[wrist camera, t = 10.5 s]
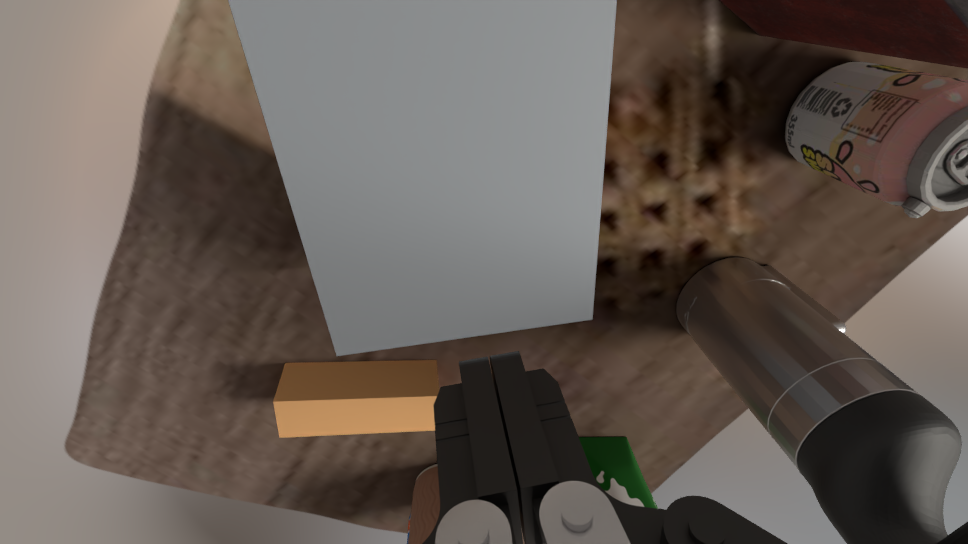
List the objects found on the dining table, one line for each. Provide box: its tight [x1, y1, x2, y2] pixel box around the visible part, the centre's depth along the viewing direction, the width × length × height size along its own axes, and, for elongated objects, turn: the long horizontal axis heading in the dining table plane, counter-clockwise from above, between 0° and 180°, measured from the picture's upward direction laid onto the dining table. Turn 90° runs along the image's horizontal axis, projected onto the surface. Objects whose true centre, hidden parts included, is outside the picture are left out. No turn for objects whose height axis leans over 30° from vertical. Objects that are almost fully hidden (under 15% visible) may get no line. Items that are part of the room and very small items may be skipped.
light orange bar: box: [273, 360, 439, 438], centre depth 44 cm, size 14×4×5 cm, turn 84°
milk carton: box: [579, 437, 658, 509], centre depth 49 cm, size 9×9×20 cm
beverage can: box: [785, 62, 968, 218], centre depth 34 cm, size 9×8×12 cm
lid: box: [228, 0, 617, 356], centre depth 25 cm, size 17×20×1 cm
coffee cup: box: [407, 464, 440, 544], centre depth 51 cm, size 10×10×12 cm
